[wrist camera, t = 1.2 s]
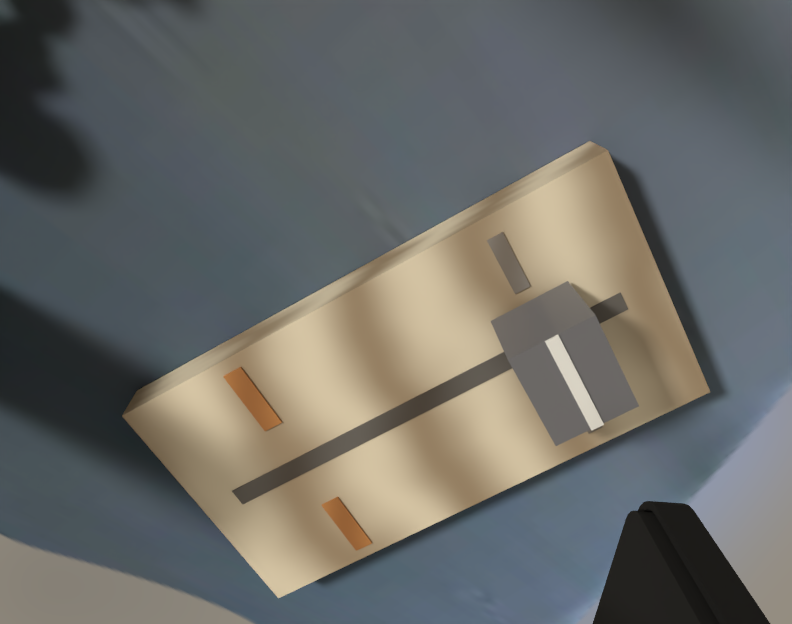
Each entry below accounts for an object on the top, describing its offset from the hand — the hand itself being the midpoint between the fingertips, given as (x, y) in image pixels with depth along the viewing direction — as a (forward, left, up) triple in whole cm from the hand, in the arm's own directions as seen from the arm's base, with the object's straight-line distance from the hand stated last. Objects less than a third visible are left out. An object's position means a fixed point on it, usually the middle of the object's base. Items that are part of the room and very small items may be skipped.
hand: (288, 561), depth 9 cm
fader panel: (+2, +11, -25) cm, 27 cm away
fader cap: (-5, +11, -22) cm, 25 cm away
